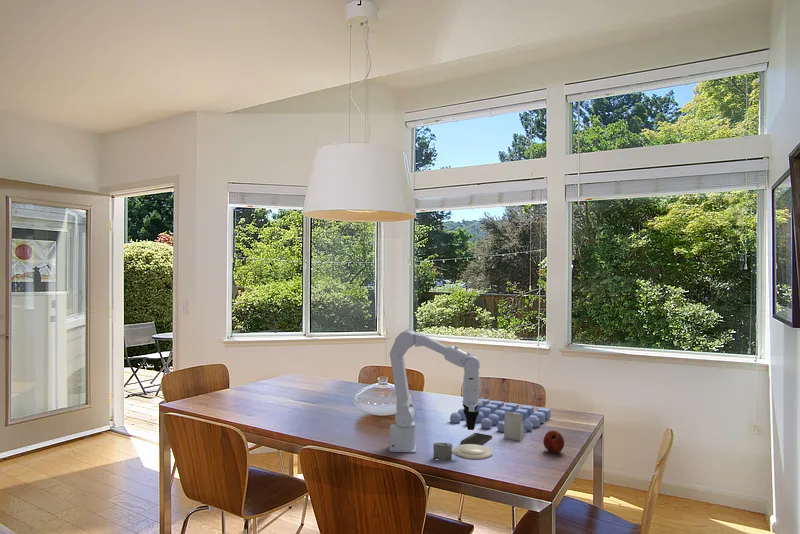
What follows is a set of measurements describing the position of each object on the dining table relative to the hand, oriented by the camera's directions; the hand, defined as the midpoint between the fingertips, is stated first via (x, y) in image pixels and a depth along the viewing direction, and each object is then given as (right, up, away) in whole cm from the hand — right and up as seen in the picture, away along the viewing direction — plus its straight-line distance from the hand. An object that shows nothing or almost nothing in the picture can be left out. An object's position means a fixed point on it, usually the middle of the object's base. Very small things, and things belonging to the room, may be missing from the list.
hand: (470, 426), depth 187 cm
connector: (-11, -10, -5) cm, 15 cm away
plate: (+1, -10, +2) cm, 10 cm away
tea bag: (+20, -11, +20) cm, 31 cm away
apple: (+31, -11, +4) cm, 33 cm away
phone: (+5, -11, +16) cm, 20 cm away
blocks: (+20, -12, +45) cm, 51 cm away
